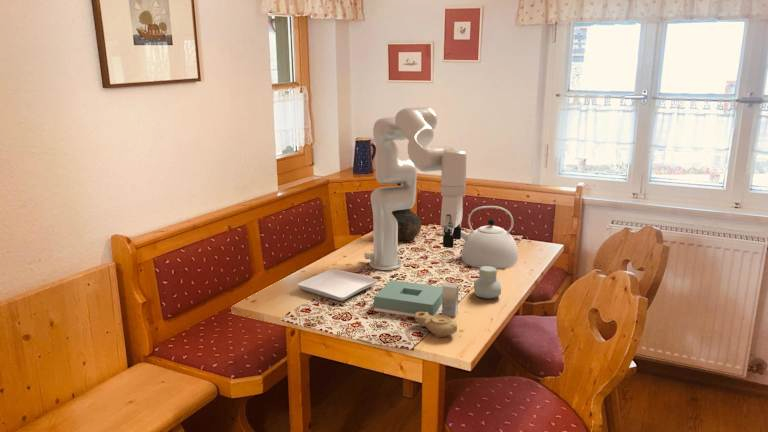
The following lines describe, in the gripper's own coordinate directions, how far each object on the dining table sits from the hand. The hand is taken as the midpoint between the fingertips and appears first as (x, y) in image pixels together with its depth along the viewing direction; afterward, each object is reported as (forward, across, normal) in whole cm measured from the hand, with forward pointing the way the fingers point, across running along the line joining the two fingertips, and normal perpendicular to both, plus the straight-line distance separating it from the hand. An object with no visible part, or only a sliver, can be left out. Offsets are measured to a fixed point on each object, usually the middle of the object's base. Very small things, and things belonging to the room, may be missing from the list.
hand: (452, 243), depth 198 cm
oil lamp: (+24, +15, -1) cm, 29 cm away
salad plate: (+24, -6, -43) cm, 49 cm away
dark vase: (+23, -73, -41) cm, 87 cm away
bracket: (+24, +1, 0) cm, 24 cm away
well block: (+24, -1, -14) cm, 27 cm away
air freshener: (+24, -19, +8) cm, 31 cm away
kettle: (+23, -58, +1) cm, 62 cm away
